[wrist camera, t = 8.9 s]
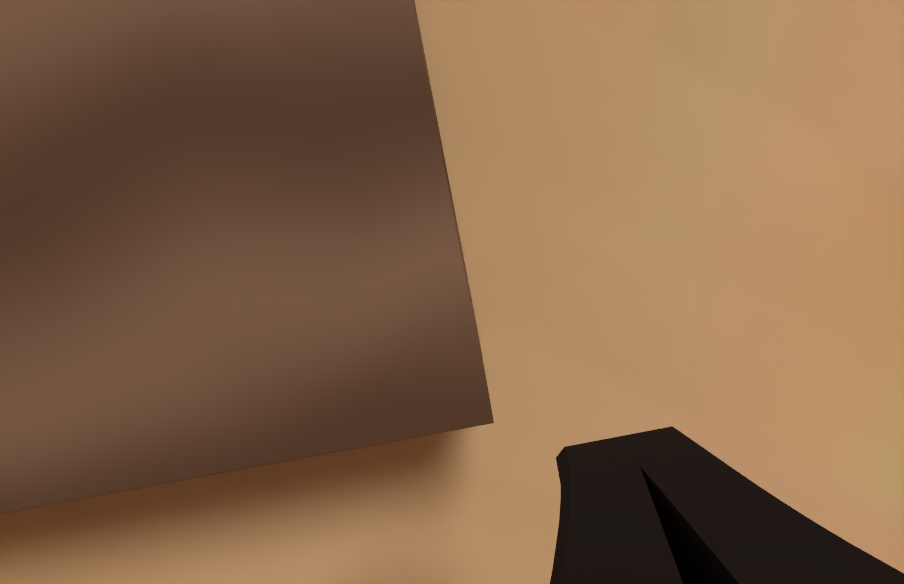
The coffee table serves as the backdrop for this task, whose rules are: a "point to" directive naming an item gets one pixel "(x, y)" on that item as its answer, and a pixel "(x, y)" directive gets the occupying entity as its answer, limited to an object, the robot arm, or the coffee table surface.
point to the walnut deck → (221, 242)
